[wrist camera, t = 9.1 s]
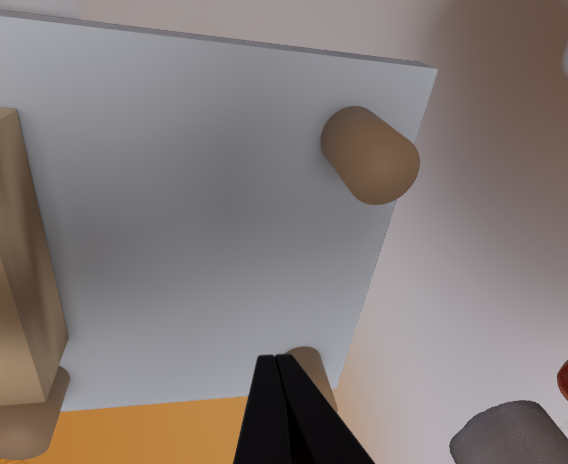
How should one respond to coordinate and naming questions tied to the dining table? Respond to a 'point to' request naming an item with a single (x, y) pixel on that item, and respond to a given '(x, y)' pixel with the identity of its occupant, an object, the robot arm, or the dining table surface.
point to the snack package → (563, 379)
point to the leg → (25, 280)
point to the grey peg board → (201, 204)
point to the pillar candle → (510, 437)
